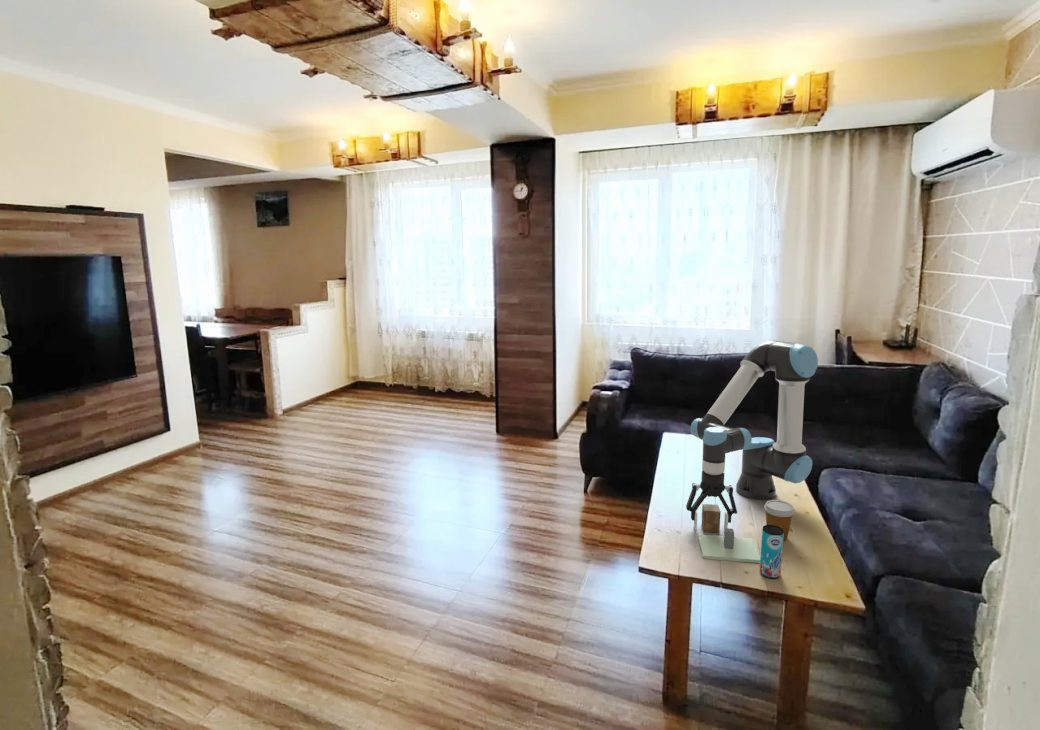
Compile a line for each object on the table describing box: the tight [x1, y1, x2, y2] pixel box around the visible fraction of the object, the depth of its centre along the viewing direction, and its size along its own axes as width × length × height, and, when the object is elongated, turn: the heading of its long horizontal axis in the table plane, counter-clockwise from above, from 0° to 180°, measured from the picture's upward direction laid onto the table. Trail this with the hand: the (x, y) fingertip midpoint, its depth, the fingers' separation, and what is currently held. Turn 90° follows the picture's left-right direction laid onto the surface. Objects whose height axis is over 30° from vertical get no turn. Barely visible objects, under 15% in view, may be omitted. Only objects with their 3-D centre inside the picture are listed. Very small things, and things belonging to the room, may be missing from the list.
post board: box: [697, 527, 761, 564], centre depth 180 cm, size 18×14×7 cm
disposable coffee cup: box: [763, 499, 796, 543], centre depth 187 cm, size 10×10×12 cm
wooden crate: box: [701, 503, 722, 535], centre depth 193 cm, size 5×5×9 cm
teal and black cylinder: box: [759, 524, 784, 580], centre depth 165 cm, size 6×6×15 cm
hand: (710, 529), depth 194 cm, fingers open, 10 cm apart
